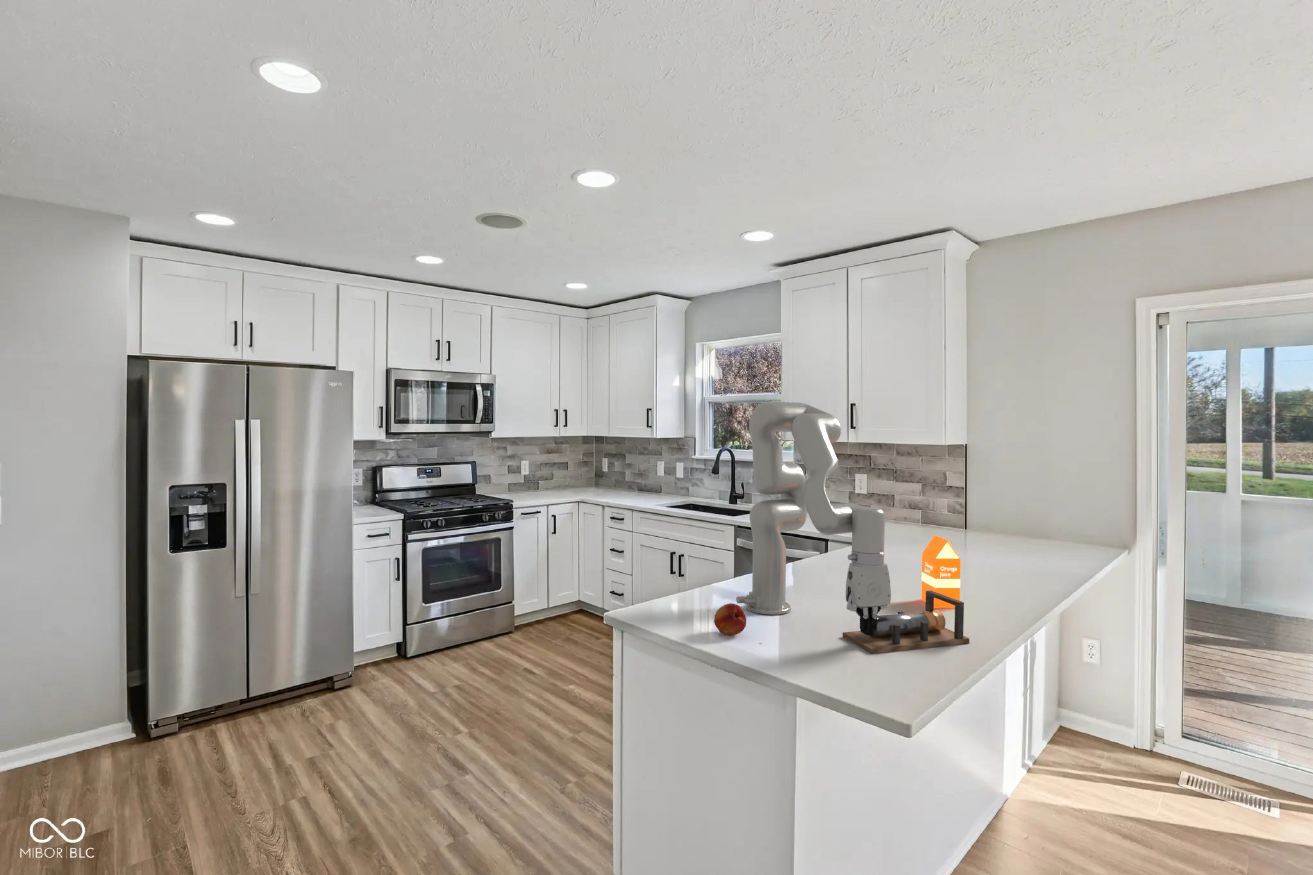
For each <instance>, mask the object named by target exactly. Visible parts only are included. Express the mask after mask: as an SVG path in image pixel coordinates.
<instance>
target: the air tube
mask: <svg viewBox="0 0 1313 875" xmlns="http://www.w3.org/2000/svg"><path fill="white" fill-rule="evenodd" d="M921 622H927V623H928V632H931V631H941V630H943V629H944V628H946V624H947V623H946V618H945V615H944V614H943V612H942V611H941V610H938V609H937V610H935V609H934V611H931V610H928V611H925V610H924V611H914V612H904V613H902V614H898V613H894V614H882V615H881V614H880V615H878V616H877V617H876V618H874V634H873V635H870V636H871V637H873V638H875V637H884V636H892V635H893V624H898V625H900V635H903V634H912V633H920V625H921Z"/></svg>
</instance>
